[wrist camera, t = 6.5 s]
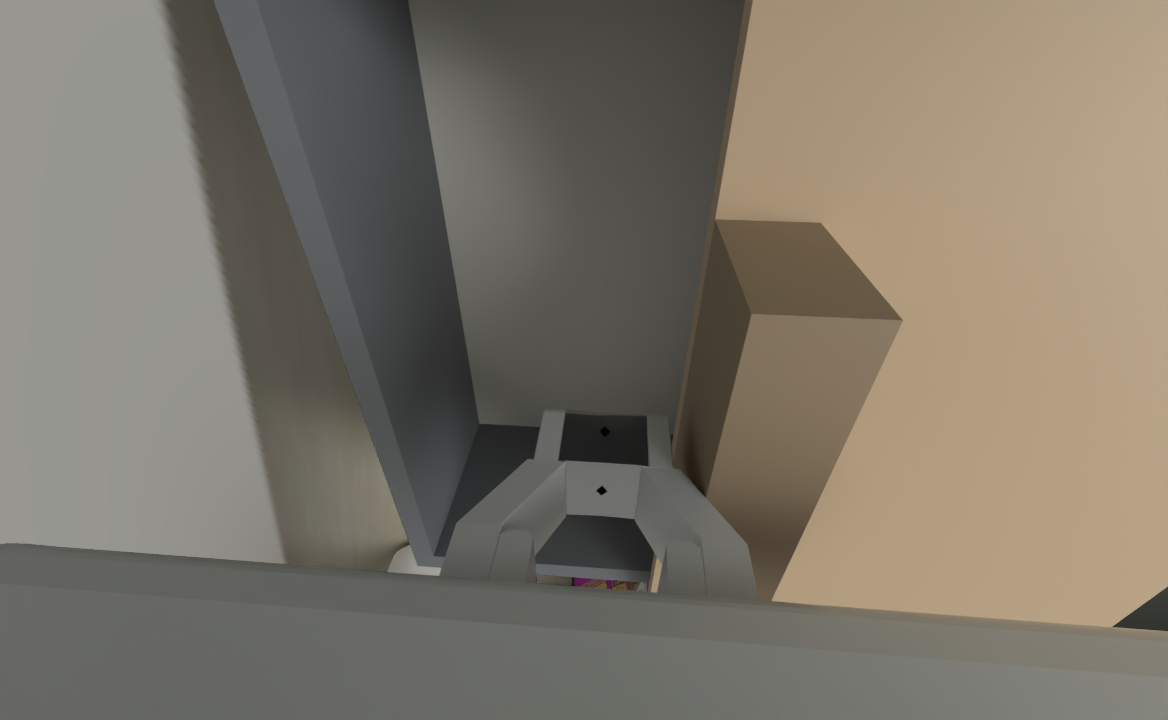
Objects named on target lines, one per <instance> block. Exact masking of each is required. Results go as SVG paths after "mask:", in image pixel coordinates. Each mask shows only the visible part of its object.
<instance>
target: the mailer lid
mask: <svg viewBox="0 0 1168 720" xmlns="http://www.w3.org/2000/svg"><path fill="white" fill-rule="evenodd" d="M672 455H673V465H674V468H676V469H681V470H682V471H683V473H684V474H685V475H686V476H687V477H688V478H689V479H690V480H691V482H692V483H693V484H694V485H695V486H696V487H697V488H698V489H699V491H700V492H701V493H702V494H703V495H704V496H705V497H706V498H707V499H708V501H709V502H710V503H711V504H712V505H713V506H714V507H715V508H716V510H717V511H718V512H719V513H720V514H721V515H722V516H723V517H724V519H725V520H726V521H727V522H728V523H729V524H730V525H731V526H732V528H733V529H734V530H735V531H736V532H737V533H738V534H739V535H740V537H741V538H742V539H743V540H744V541H745V542H746V543H747V545H748V549H749V554H750V558H751V563H752V568H753V572H754V577H755V582H756V586H757V591H758V596H759V600H762V601H775V602H788V603H801V604H814V605H827V606H841V607H854V608H867V609H880V610H893V611H906V612H919V613H932V614H945V615H958V616H971V617H984V618H997V619H1010V620H1023V621H1036V622H1050V623H1063V624H1076V625H1089V626H1102V627H1112V626H1113V625H1115V624H1116V623H1118V622H1119V621H1120V620H1122V619H1123V618H1124V617H1126V616H1127V615H1129V614H1130V613H1131V612H1133V611H1134V610H1136V609H1137V608H1138V607H1140V606H1141V605H1142V604H1144V603H1145V602H1147V601H1148V600H1149V599H1151V598H1152V597H1153V596H1155V595H1156V594H1158V593H1159V592H1160V591H1162V590H1163V589H1165V588H1166V587H1167V586H1168V0H745V5H744V11H743V17H742V23H741V29H740V35H739V41H738V47H737V53H736V59H735V65H734V71H733V78H732V84H731V90H730V96H729V102H728V108H727V114H726V120H725V126H724V132H723V138H722V144H721V150H720V156H719V162H718V168H717V174H716V181H715V187H714V193H713V199H712V205H711V211H710V217H709V223H708V229H707V235H706V241H705V247H704V253H703V259H702V265H701V271H700V278H699V284H698V290H697V296H696V302H695V308H694V314H693V320H692V326H691V332H690V338H689V344H688V350H687V356H686V362H685V368H684V374H683V381H682V387H681V393H680V399H679V405H678V411H677V417H676V423H675V429H674V435H673V441H672ZM661 569H662V564H661V563H660V561H659V559H658V558H657V556H656V554H655V553H654V556H653V562H652V568H651V574H650V581H649V587H648V592H655V593H657V589H658V584H659V579H660V574H661Z"/></svg>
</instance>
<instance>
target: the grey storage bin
mask: <svg viewBox="0 0 1168 720" xmlns="http://www.w3.org/2000/svg"><path fill="white" fill-rule="evenodd" d="M213 1H214V4H215V7H216V9H217V12H218V15H219V18H220V21H221V23H222V26H223V29H224V32H225V34H226V37H227V40H228V43H229V45H230V48H231V51H232V54H233V57H234V59H235V62H236V65H237V68H238V70H239V73H240V76H241V79H242V81H243V84H244V87H245V90H246V93H247V95H248V98H249V101H250V104H251V106H252V109H253V112H254V115H255V117H256V120H257V123H258V126H259V128H260V131H261V134H262V137H263V140H264V142H265V145H266V148H267V151H268V153H269V156H270V159H271V162H272V164H273V167H274V170H275V173H276V176H277V178H278V181H279V184H280V187H281V189H282V192H283V195H284V198H285V200H286V203H287V206H288V209H289V212H290V214H291V217H292V220H293V223H294V225H295V228H296V231H297V234H298V236H299V239H300V242H301V245H302V248H303V250H304V253H305V256H306V259H307V261H308V264H309V267H310V270H311V272H312V275H313V278H314V281H315V284H316V286H317V289H318V292H319V295H320V297H321V300H322V303H323V306H324V308H325V311H326V314H327V317H328V320H329V322H330V325H331V328H332V331H333V333H334V336H335V339H336V342H337V344H338V347H339V350H340V353H341V355H342V358H343V361H344V364H345V367H346V369H347V372H348V375H349V378H350V380H351V383H352V386H353V389H354V391H355V394H356V397H357V400H358V403H359V405H360V408H361V411H362V414H363V416H364V419H365V422H366V425H367V427H368V430H369V433H370V436H371V439H372V441H373V444H374V447H375V450H376V452H377V455H378V458H379V461H380V463H381V466H382V469H383V472H384V475H385V477H386V480H387V483H388V486H389V488H390V491H391V494H392V497H393V499H394V502H395V505H396V508H397V511H398V513H399V516H400V519H401V522H402V524H403V527H404V530H405V533H406V535H407V538H408V541H409V544H410V547H411V549H412V552H413V555H414V558H415V560H416V563H417V566H424V567H438V568H442V565H443V562H444V559H445V556H446V553H447V550H448V547H449V544H450V541H451V538H452V535H453V532H454V529H455V526H456V523H457V522H458V521H459V520H460V519H461V518H462V517H464V516H465V515H466V514H467V513H468V512H469V511H470V510H471V509H472V508H474V507H475V506H476V505H477V504H478V503H479V502H480V501H481V500H483V499H484V498H485V497H486V496H487V495H488V494H489V493H490V492H491V491H493V490H494V489H495V488H496V487H497V486H498V485H499V484H500V483H501V482H503V481H504V480H505V479H506V478H507V477H508V476H509V475H510V474H511V473H513V472H514V471H515V470H516V469H517V468H518V467H519V466H520V465H521V464H523V463H524V462H525V461H526V460H527V459H534V455H535V450H536V445H537V440H538V435H539V430H540V426H541V421H542V416H543V412H544V410H545V408H549V409H560V410H579V411H591V412H603V413H624V414H645V415H646V414H649V415H667V416H668V418H669V425H670V435H671V445H672V441H673V435H674V429H675V423H676V417H677V411H678V405H679V399H680V393H681V387H682V381H683V374H684V368H685V362H686V356H687V350H688V344H689V338H690V332H691V326H692V320H693V314H694V308H695V302H696V296H697V290H698V284H699V278H700V271H701V265H702V259H703V253H704V247H705V241H706V235H707V229H708V223H709V217H710V211H711V205H712V199H713V193H714V187H715V181H716V174H717V168H718V162H719V156H720V150H721V144H722V138H723V132H724V126H725V120H726V114H727V108H728V102H729V96H730V90H731V84H732V78H733V71H734V65H735V59H736V53H737V47H738V41H739V35H740V29H741V23H742V17H743V11H744V5H745V0H213ZM653 556H654V551H653V549H652V548H651V546H650V544H649V543H648V541H647V540H646V538H645V536H644V535H643V533H642V531H641V530H640V528H639V526H638V525H637V523H636V521H635V519H629V518H619V517H608V516H595V515H571V514H566V517H565V518H564V520H563V521H562V522H561V523H560V525H559V526H558V527H557V528H556V530H555V531H554V532H553V534H552V535H551V536H550V537H549V539H548V540H547V541H546V543H545V544H544V545H543V546H542V548H541V549H540V550H539V552H538V553H537V554H536V555H535V565H536V575H548V576H562V577H576V578H589V579H603V580H617V581H631V582H645V583H649V581H650V574H651V568H652V562H653Z"/></svg>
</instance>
